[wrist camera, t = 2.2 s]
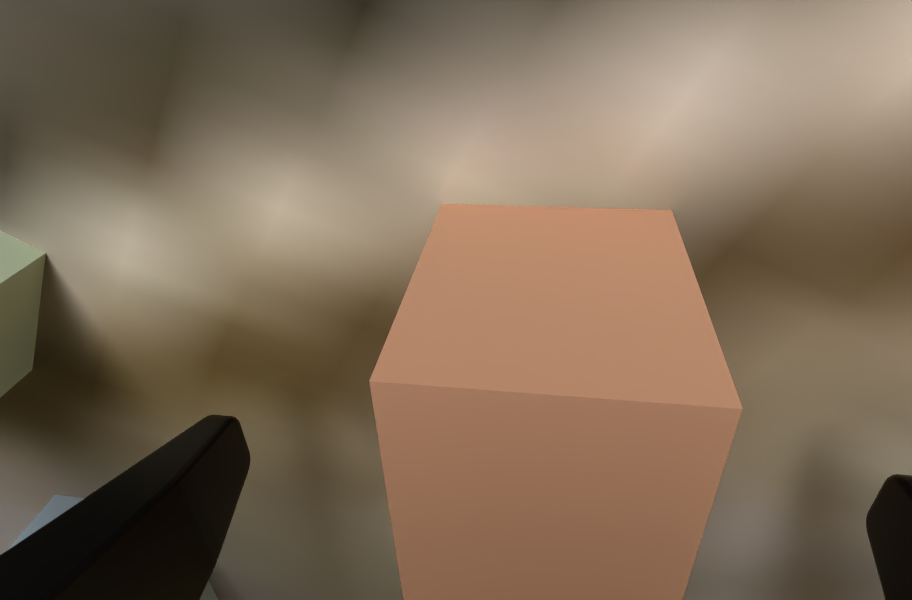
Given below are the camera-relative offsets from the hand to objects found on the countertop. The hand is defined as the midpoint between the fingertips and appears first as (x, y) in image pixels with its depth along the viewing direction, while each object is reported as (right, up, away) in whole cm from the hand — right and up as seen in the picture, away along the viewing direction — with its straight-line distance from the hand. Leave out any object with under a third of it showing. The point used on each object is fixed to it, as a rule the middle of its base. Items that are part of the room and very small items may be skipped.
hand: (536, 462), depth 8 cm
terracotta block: (0, +1, +2) cm, 2 cm away
